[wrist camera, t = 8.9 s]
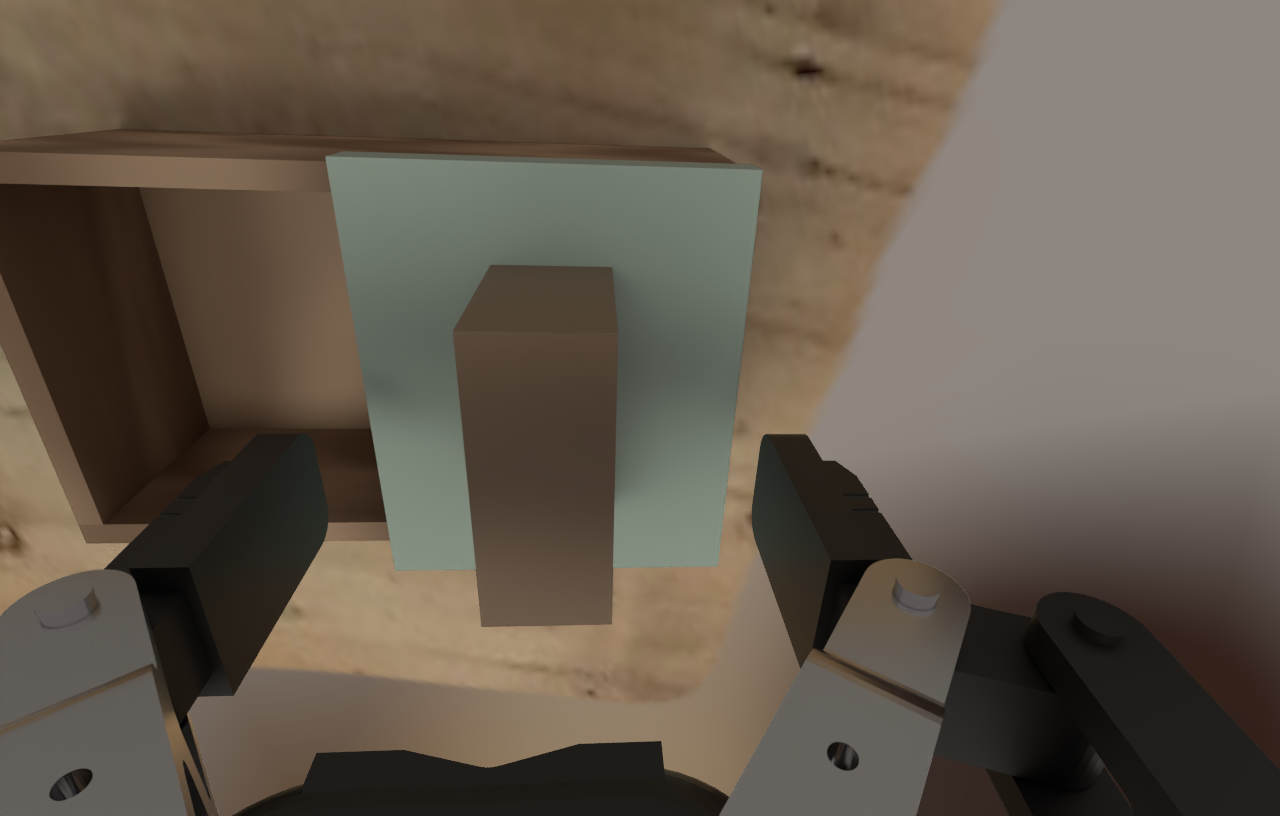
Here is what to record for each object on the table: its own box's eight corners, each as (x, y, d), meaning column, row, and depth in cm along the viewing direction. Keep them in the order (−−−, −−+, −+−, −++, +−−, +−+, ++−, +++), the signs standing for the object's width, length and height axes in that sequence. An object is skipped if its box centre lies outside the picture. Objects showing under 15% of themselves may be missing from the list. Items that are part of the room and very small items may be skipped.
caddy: (208, 432, 22) (86, 543, 17) (118, 129, 18) (-84, 149, 13) (688, 433, 24) (715, 536, 18) (710, 148, 19) (754, 174, 14)
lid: (405, 545, 18) (341, 703, 13) (343, 151, 13) (215, 186, 9) (711, 542, 18) (749, 692, 14) (751, 164, 14) (827, 204, 9)
